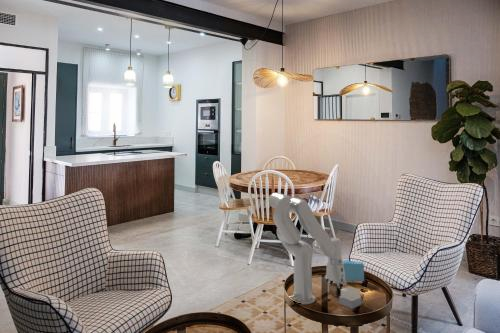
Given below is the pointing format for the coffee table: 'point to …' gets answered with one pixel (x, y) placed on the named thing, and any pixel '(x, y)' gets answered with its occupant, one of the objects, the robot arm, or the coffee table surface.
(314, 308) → the coffee table surface
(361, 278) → the data package
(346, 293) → the tower top
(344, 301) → the tower base
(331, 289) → the walnut cube
